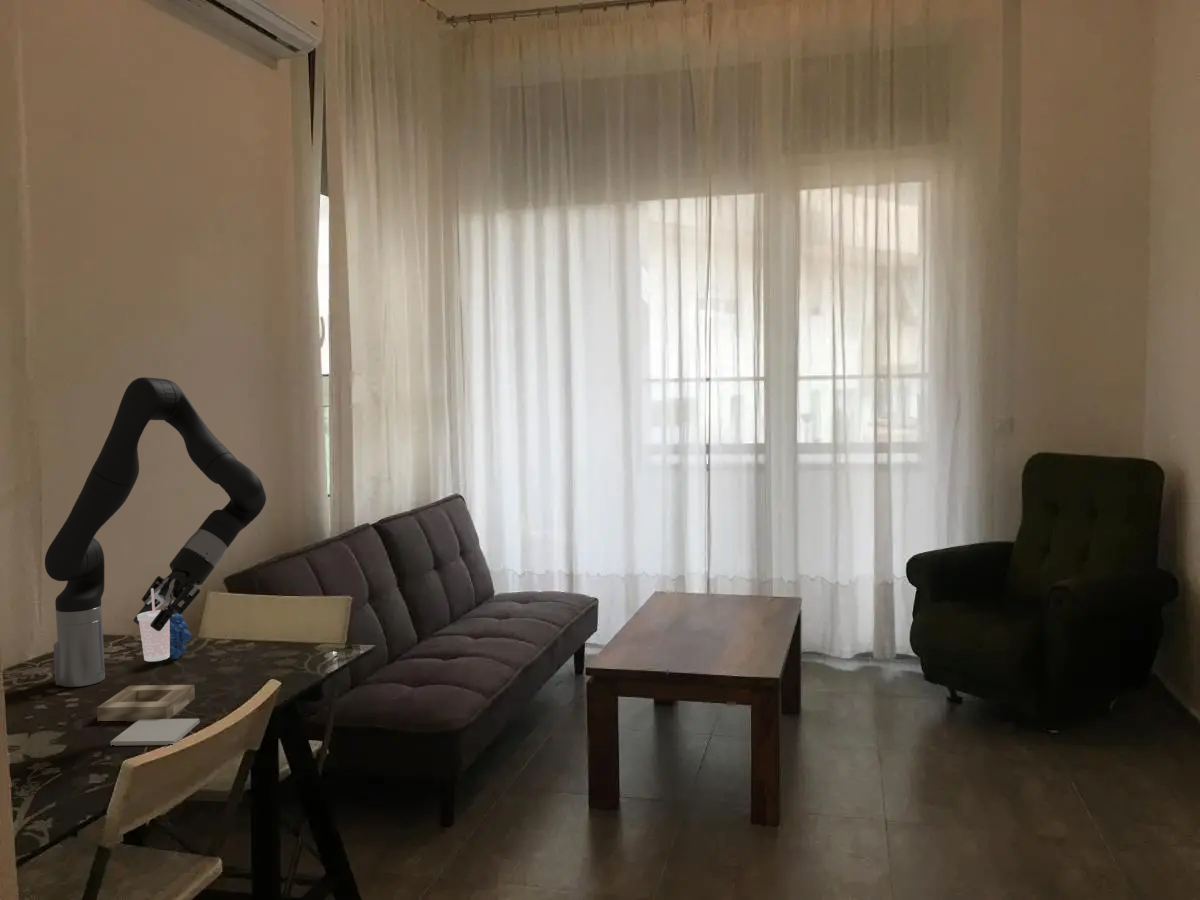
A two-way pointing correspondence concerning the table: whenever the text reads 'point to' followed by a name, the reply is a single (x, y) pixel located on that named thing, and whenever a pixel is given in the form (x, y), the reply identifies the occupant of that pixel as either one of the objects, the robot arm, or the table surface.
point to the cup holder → (146, 703)
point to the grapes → (178, 636)
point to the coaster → (155, 732)
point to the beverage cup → (154, 635)
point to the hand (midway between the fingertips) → (146, 626)
